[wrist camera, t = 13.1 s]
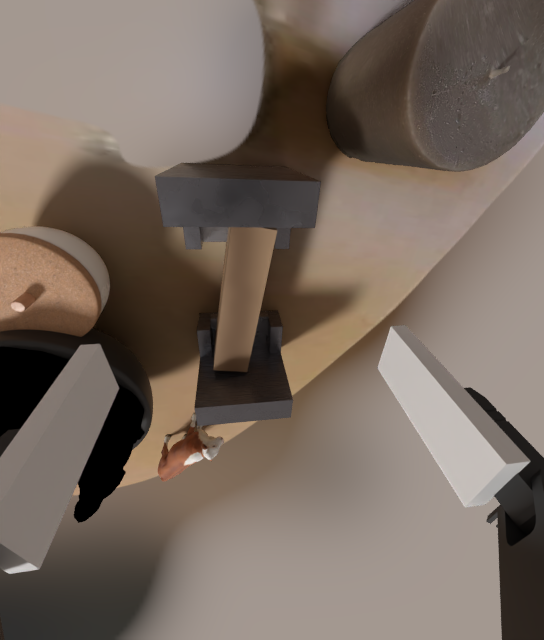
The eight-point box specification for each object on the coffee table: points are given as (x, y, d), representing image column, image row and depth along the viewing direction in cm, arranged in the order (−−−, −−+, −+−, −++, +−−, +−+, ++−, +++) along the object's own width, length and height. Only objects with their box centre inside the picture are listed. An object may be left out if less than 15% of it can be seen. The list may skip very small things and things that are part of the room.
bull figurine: (227, 412, 48) (228, 457, 41) (174, 447, 51) (166, 493, 44) (210, 400, 45) (207, 446, 39) (155, 438, 49) (144, 485, 42)
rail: (268, 215, 29) (277, 230, 24) (244, 341, 38) (247, 371, 33) (230, 207, 28) (231, 222, 23) (214, 339, 37) (213, 370, 32)
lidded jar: (122, 227, 29) (85, 259, 21) (124, 311, 34) (94, 361, 26) (0, 201, 26) (-95, 227, 18) (23, 297, 31) (-43, 349, 24)
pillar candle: (335, 174, 29) (420, 200, 17) (315, 54, 23) (421, -41, 11) (423, 140, 28) (577, 141, 16) (424, 9, 23) (660, -142, 11)
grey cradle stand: (286, 167, 28) (320, 181, 18) (274, 350, 41) (290, 417, 31) (181, 162, 26) (154, 176, 16) (204, 355, 40) (197, 426, 30)
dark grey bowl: (-43, 338, 33) (-280, 513, 17) (85, 258, 30) (-66, 384, 14) (92, 420, 44) (19, 573, 28) (195, 367, 41) (176, 506, 25)
